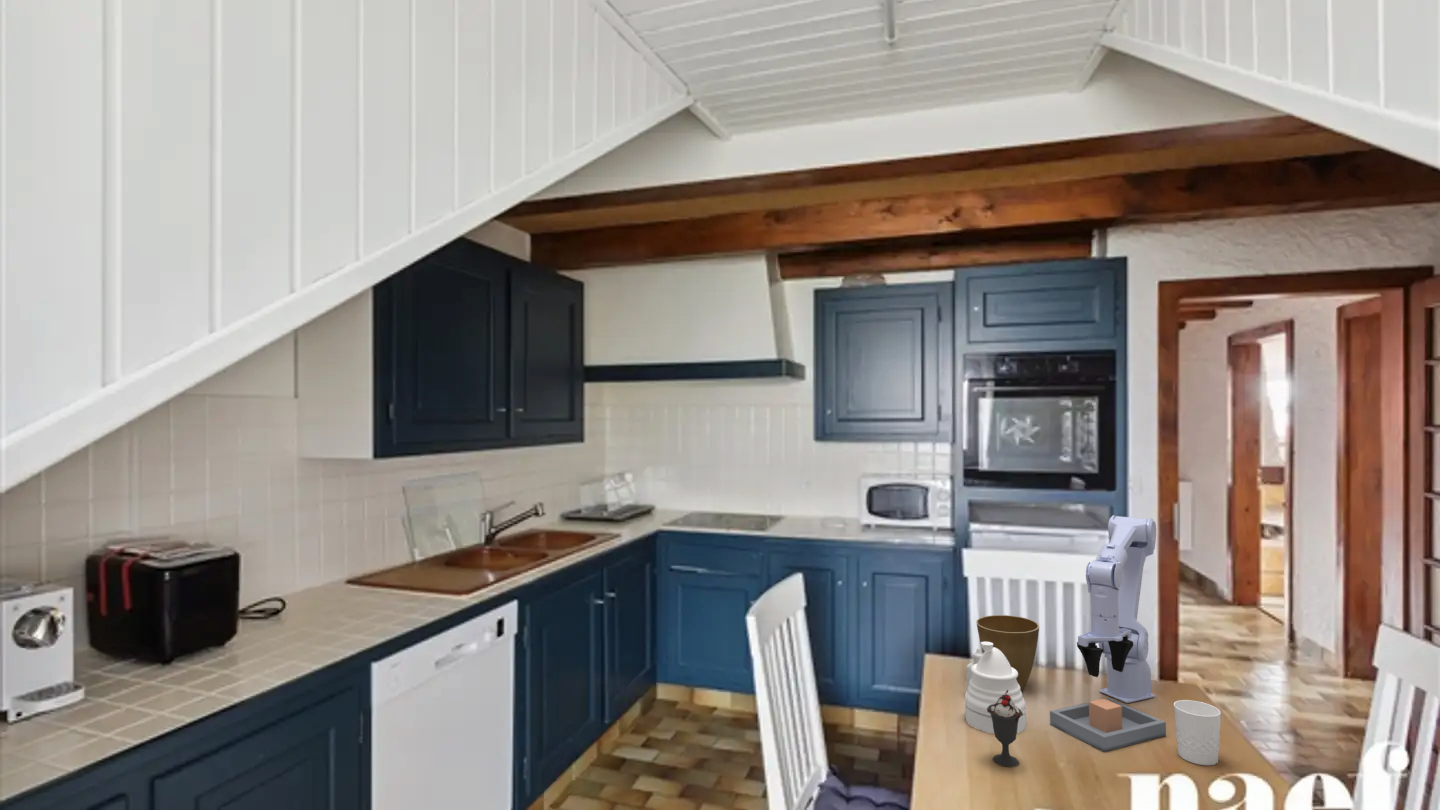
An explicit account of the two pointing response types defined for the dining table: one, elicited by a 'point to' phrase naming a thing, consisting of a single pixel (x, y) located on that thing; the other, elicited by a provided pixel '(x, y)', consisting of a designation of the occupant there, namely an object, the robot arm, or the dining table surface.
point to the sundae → (1005, 727)
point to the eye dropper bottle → (975, 660)
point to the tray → (1132, 732)
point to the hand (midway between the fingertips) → (1105, 673)
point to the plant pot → (1012, 641)
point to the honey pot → (992, 689)
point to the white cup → (1197, 731)
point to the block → (1105, 715)
